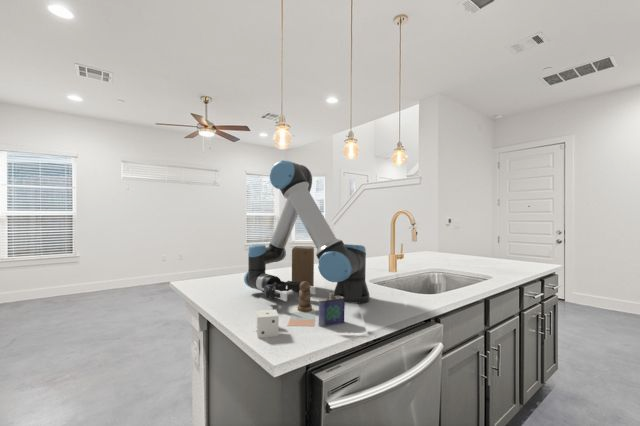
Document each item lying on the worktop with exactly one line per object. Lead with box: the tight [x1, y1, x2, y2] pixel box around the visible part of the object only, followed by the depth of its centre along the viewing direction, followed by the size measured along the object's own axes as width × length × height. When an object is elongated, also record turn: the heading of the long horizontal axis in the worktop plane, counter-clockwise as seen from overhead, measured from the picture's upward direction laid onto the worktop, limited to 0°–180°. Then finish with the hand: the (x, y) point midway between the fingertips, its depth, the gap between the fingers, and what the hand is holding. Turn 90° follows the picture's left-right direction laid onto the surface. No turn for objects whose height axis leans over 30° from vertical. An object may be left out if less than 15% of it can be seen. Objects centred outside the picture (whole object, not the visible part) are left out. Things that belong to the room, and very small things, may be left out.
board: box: [287, 306, 317, 327], centre depth 103 cm, size 9×20×1 cm, turn 178°
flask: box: [318, 292, 346, 328], centre depth 96 cm, size 9×3×11 cm, turn 117°
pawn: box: [297, 281, 313, 312], centre depth 110 cm, size 5×5×10 cm
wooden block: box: [291, 245, 315, 292], centre depth 144 cm, size 10×10×20 cm
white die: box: [256, 309, 279, 339], centre depth 90 cm, size 6×6×6 cm
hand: (301, 293), depth 111 cm, fingers open, 13 cm apart
